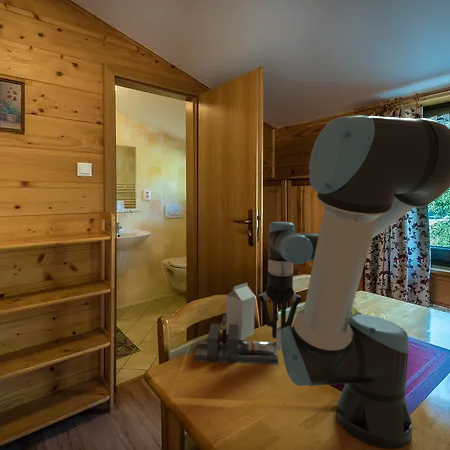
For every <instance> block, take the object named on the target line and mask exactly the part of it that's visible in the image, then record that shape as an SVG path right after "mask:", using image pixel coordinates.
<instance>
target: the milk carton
mask: <svg viewBox="0 0 450 450" xmlns="http://www.w3.org/2000/svg"><path fill="white" fill-rule="evenodd" d="M255 301H256V296H255V294H254V293H253V291H252V289H250V287H249V286H248V282H245V283H242V284H238V285H235V286H233V289H232V291H231V292H230V293H228V294H227V295H226V305H225V307H226V310H225V311H226V312H225V313H226V314H225V315H227V336H228V332H229V324H237V325H239V328H238V340H241V341H244V340H246V339H247V338H249V337H251V336H253V335H254V334H255V309H256V308H255V307H256V305H255V303H256V302H255Z"/></svg>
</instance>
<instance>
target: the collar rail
mask: <svg viewBox="0 0 450 450" xmlns="http://www.w3.org/2000/svg"><path fill="white" fill-rule="evenodd" d="M238 328H239V325H237V324H229V332H228V335H227V315H226V314H224V315H223V316H222V322H221V323H210V327H209V331H208V334H207V335H208V336H207V339H206V341H198V342H197V348H196V351H195V352H194V356H193V357H194V358H193V362H206V363H207V362H208V363H209V362H210V363H230V364H255V365H272V366H273V365H275V366H276V365H277V366H279V364H280V363H279V356H278V353H277V352H276V354H251V353H238V340H239V339H238ZM221 330H222V342H221Z"/></svg>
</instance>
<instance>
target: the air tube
mask: <svg viewBox="0 0 450 450" xmlns="http://www.w3.org/2000/svg"><path fill="white" fill-rule="evenodd" d="M238 353H251V354H276V353H277V350H276V342H275V341H266V340H265V341H263V340H262V341H261V340H260V341H258V340H239V339H238Z"/></svg>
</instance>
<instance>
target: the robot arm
mask: <svg viewBox="0 0 450 450" xmlns="http://www.w3.org/2000/svg"><path fill="white" fill-rule="evenodd" d="M308 169H309V172H308V178H309V182H310V183H309V184H310V186H311V187H312V189H313V190H314V191H315V192H317V194H316V198H317V200H318V201H319V203H320V204H321V206H322V207H323V212H322V218H321V221H320V225H319V232H296V228H295V224H294V223H293V222H290V221H273V222H271V223H269V229H268V233H267V234H268V257H267V258H268V259H267V271H268V273H267V286H266V289H265V291H264V292H262V293H259V294H258V299H259V301H260V302H261V304H262V308H263V313H264V317H265V322H266V326H267V327H270V328H271V336H272V339H274V340H275V341H274V342H276V351H281V353H282V358H283V362H284V367H285V369H286V370H285V371H286V373H287V374H288V377H289V379H290V381H291V382H292V383H293V384H295V385H296V386H303V387H305V386H306V387H307V386H309V387H315V386H328V385H329V386H331V385H341V384H342V385H343V384H344V387H343V388H342V392H341V393H340V396H339V398H338V399H337V403H336V418H337V421H338V423H339V424H340V425H341V427H342V428H343V429H344V430H345V431H346V432H347V433H348V434H349V435H351V436H352V437H354V438H355V439H357V440H359V441H361V442H363V443H366V444H368V445H371V446H373V447H378V448H383V449H398V448H401V447H404V446H406V445H407V444H409V443H410V442H411V439H412V437H413V421H412V417H411V415H410V410H409V407H408V404H407V399H406V384H407V372H408V370H407V368H408V360H409V359H408V357H409V353H410V350H409V335H408V333H407V332H406V331H405V329H404V328H403V327H401V326H400V325H398V324H396V323H395V322H392V321H390V320H387V319H385V318H382V317H378V316H374V315H369V314H365V313H364V314H363V313H362V314H356V315H353V316H351V317H350V314H351V310H352V307H353V305H354V302H355V299H356V296H357V293H358V288H359V285H360V280H361V277H362V274H363V270H364V268H365V263H366V259H367V256H368V253H369V248H370V245H371V241H372V240H373V238H375V237H376V236H378V235H379V234H381V233H382V232H383V231H384V230H386V229H387V228H388V227H390V226H391V225H393V224H394V223H395V222H398V220H400V219H401V218H402V217H403V216H405V215H406V214H407V213H409V212H410V211H412V210H413V209H415V208H423V207H427V206H428V205H430V204H432V203H433V202H434V201H436V200H438V199H439V198H440V197H441V196H442V195H444V194H445V193H446V192H447V190H449V189H450V128H449V127H448V126H447V125H445V124H443V123H441V122H439V121H437V120H433V119H429V118H418V117H417V118H407V117H406V118H401V117H390V116H372V115H369V116H368V115H365V114H364V115H361V114H360V115H351V116H350V115H349V116H348V115H347V116H339V117H336V118H334V119H332V120H330V121H329V122H328V123H327V124H326V125H325V126H324V128H322V129H321V130H320V131H319V134H318V136H317V137H316V139H315V142H314V145H313V147H312V150H311V154H310V158H309V164H308ZM308 261H309V262H311V261H313V262H312V267H311V273H310V276H309V277H310V278H309V283H308V288H307V292H306V297H305V302H304V307H303V309H302V310H300V311H299V312H296V311H297V308H298V305H299V304H300V303H301V300H302V297H301V295H300V294H297V293H296V292H295V291H294V288H293V285H294V275H293V273H294V264H295V265H302V264H304V263H306V262H308ZM267 298H268V299H269V300H270V301H271V303H272V317H271V318H272V320H271V318H270V313H269V309H268V308H269V307H268V304H267V301H266V300H267ZM291 299H292V303H291V306H290V308H289V313H288V316H287V303H288V302H289V301H290V300H291ZM278 304H280V325H278V307H279V305H278ZM296 313H297V314H296ZM286 316H287V317H286ZM349 317H350V320H349ZM286 318H287V319H286ZM348 321H349V323H350V324H348Z"/></svg>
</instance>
